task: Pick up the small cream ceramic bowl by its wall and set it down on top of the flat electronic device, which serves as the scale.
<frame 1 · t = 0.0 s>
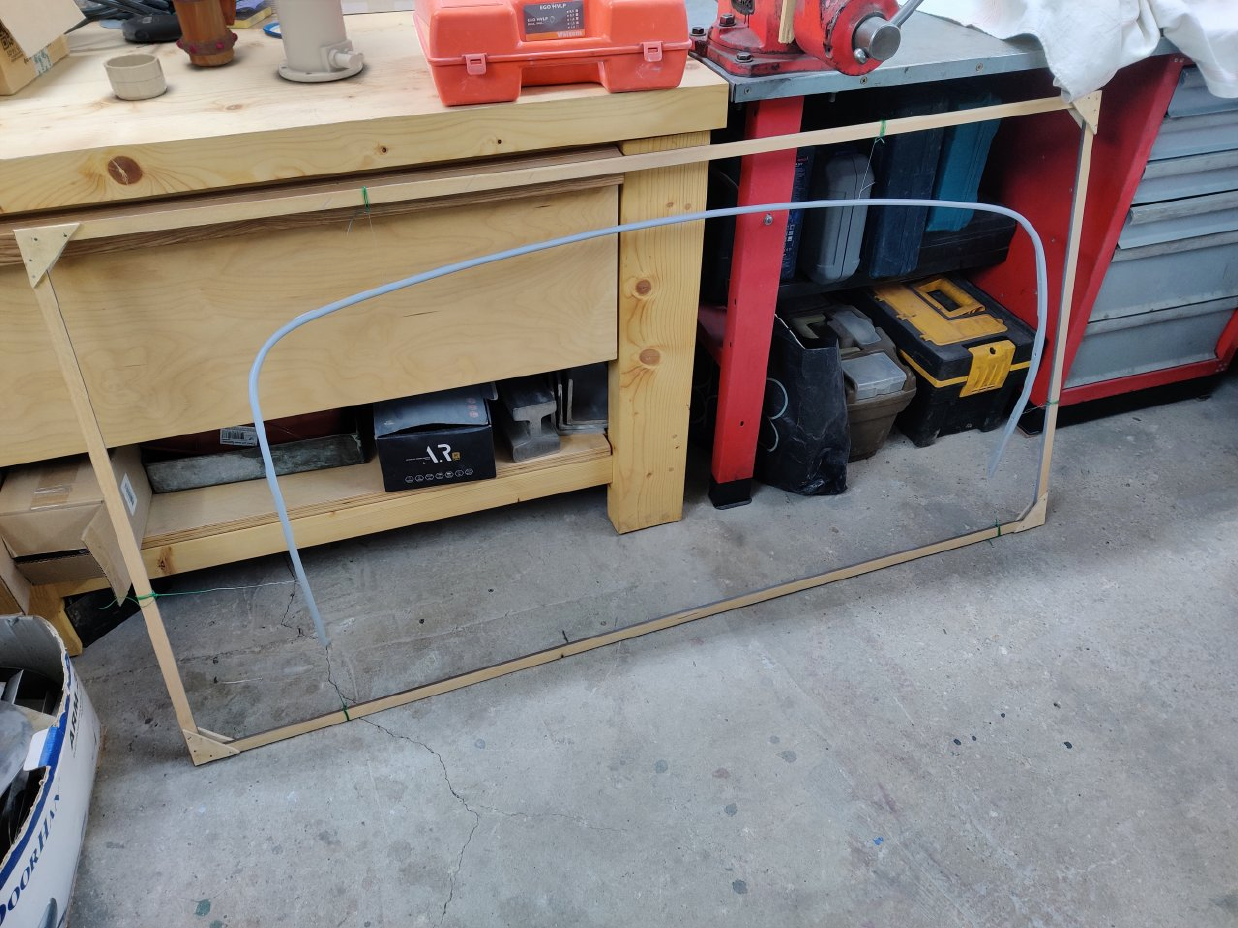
mug: (222, 60, 143), on the table
electronic device: (171, 37, 154), on the table
bowl: (141, 93, 129), on the table
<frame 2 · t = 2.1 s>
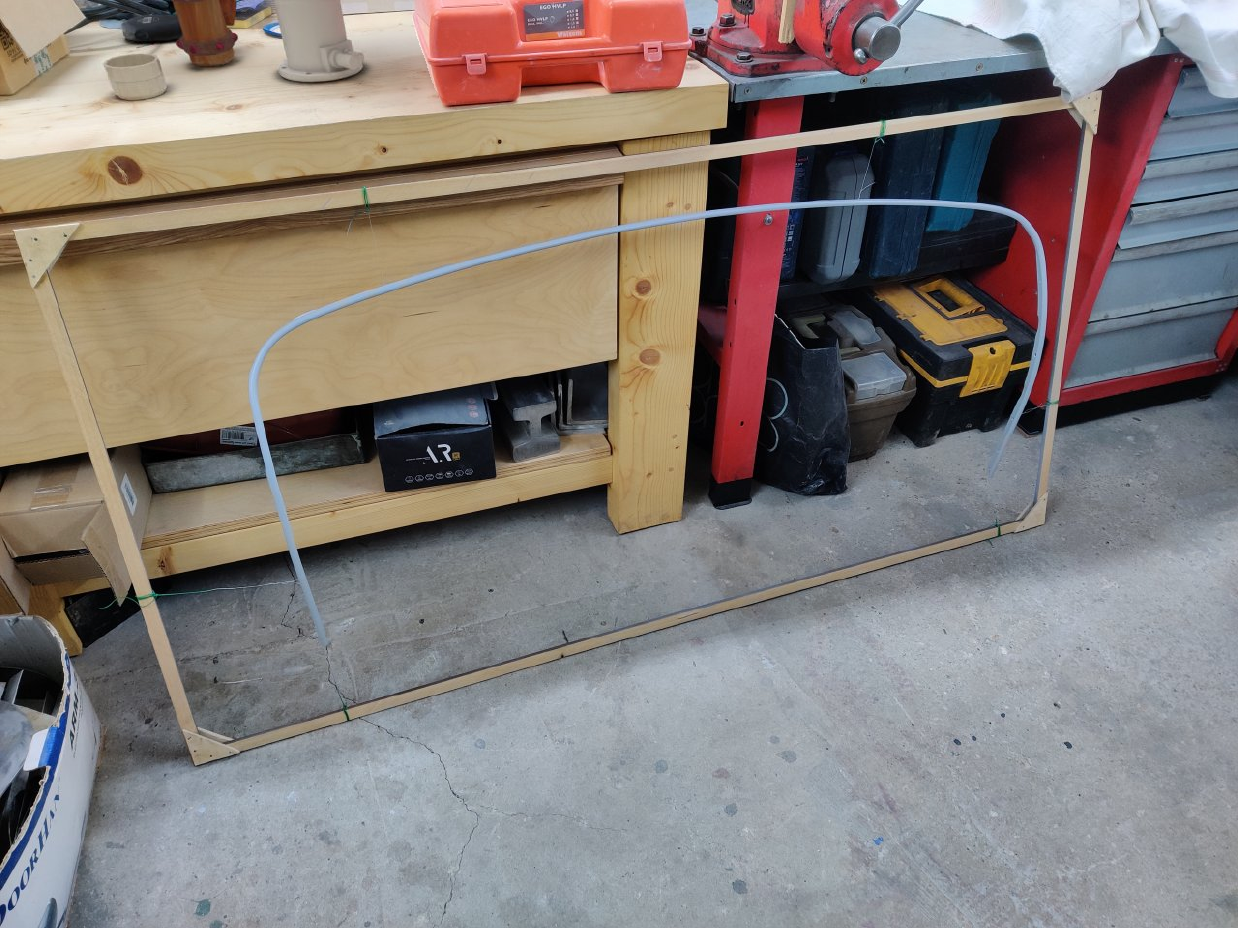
nothing on the table moved.
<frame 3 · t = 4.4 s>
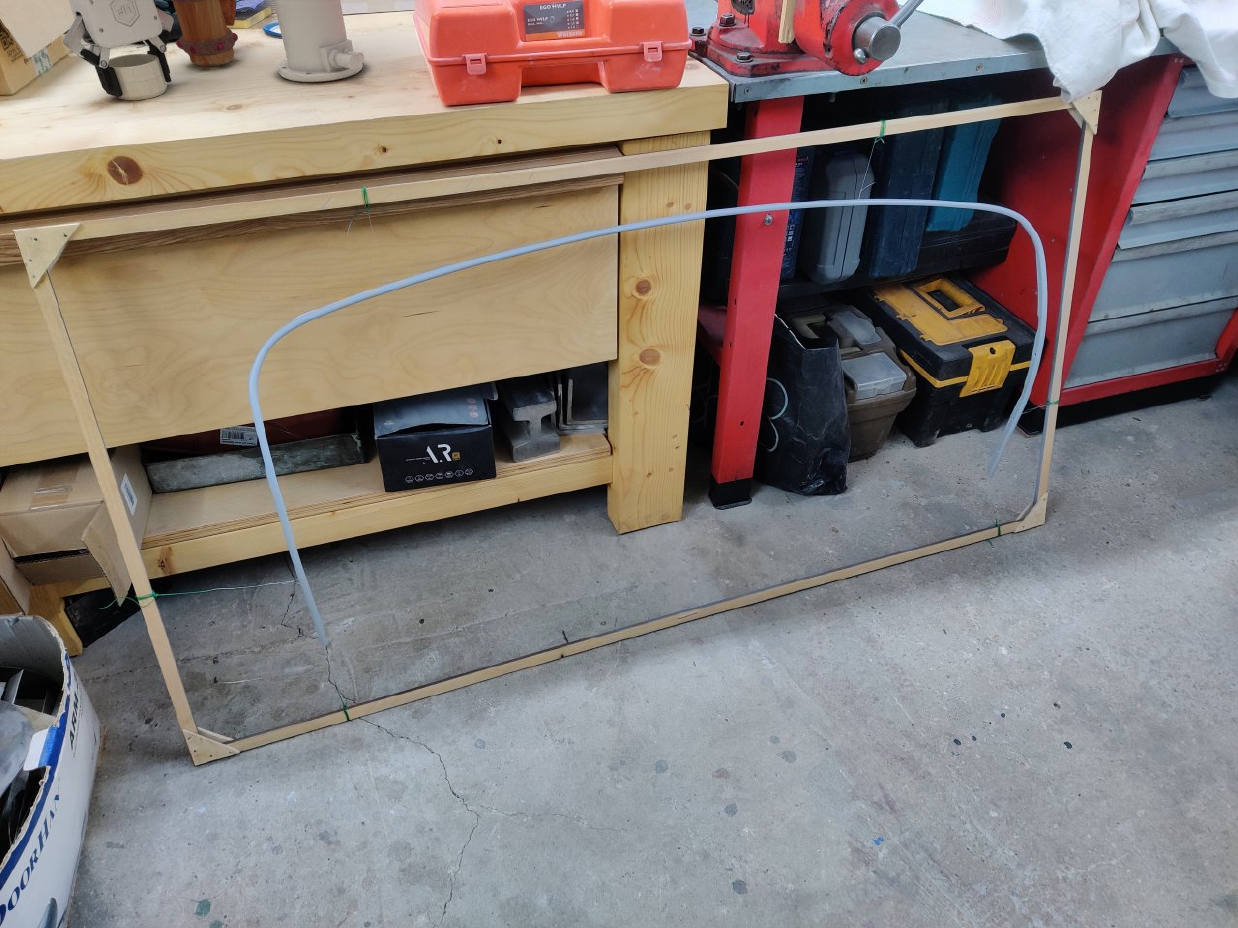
hand: (139, 87, 129), 1 cm above the table, tool pointing down, fingers closed on bowl, 7 cm apart
bowl: (141, 93, 129), on the table, touching gripper
everything else where it was.
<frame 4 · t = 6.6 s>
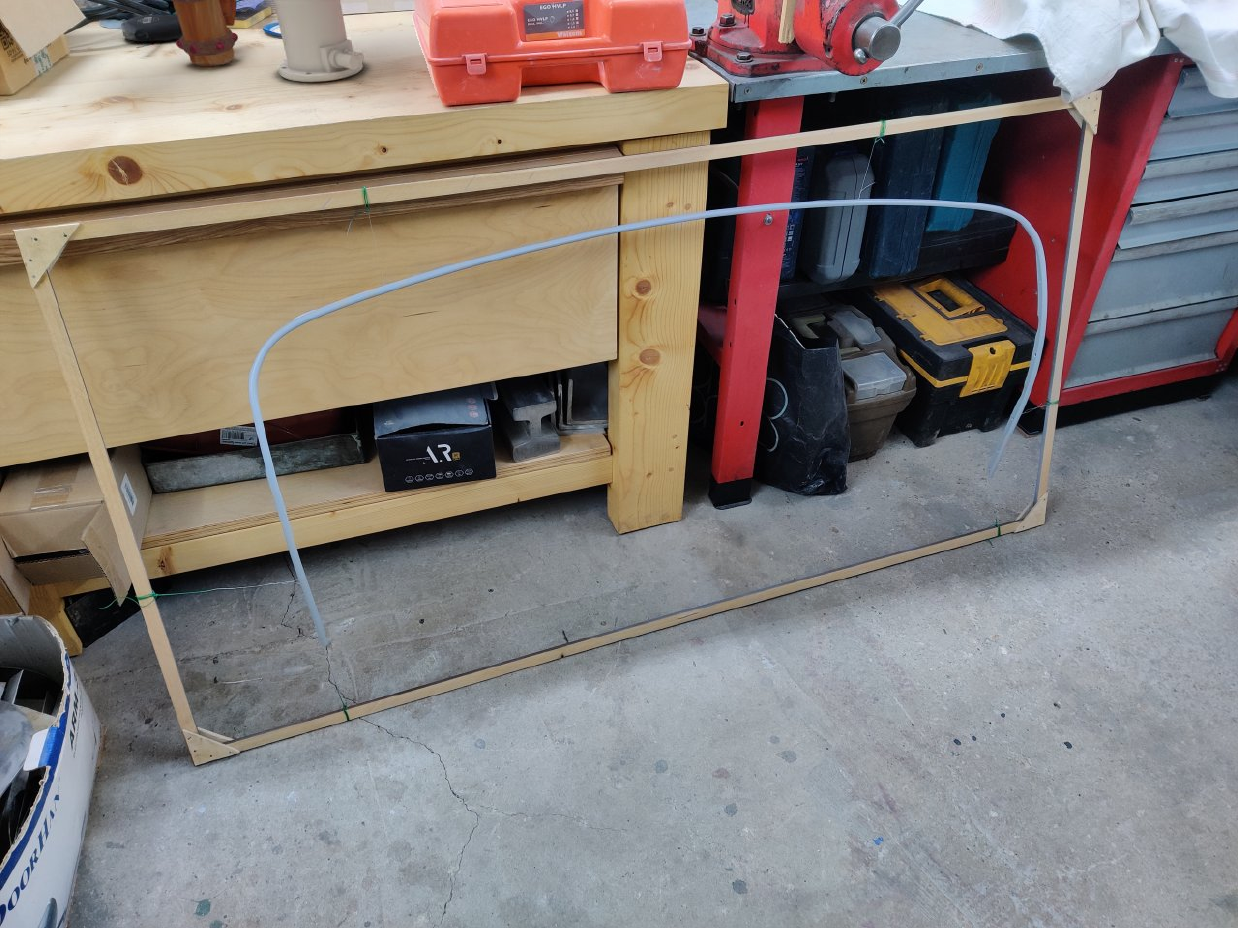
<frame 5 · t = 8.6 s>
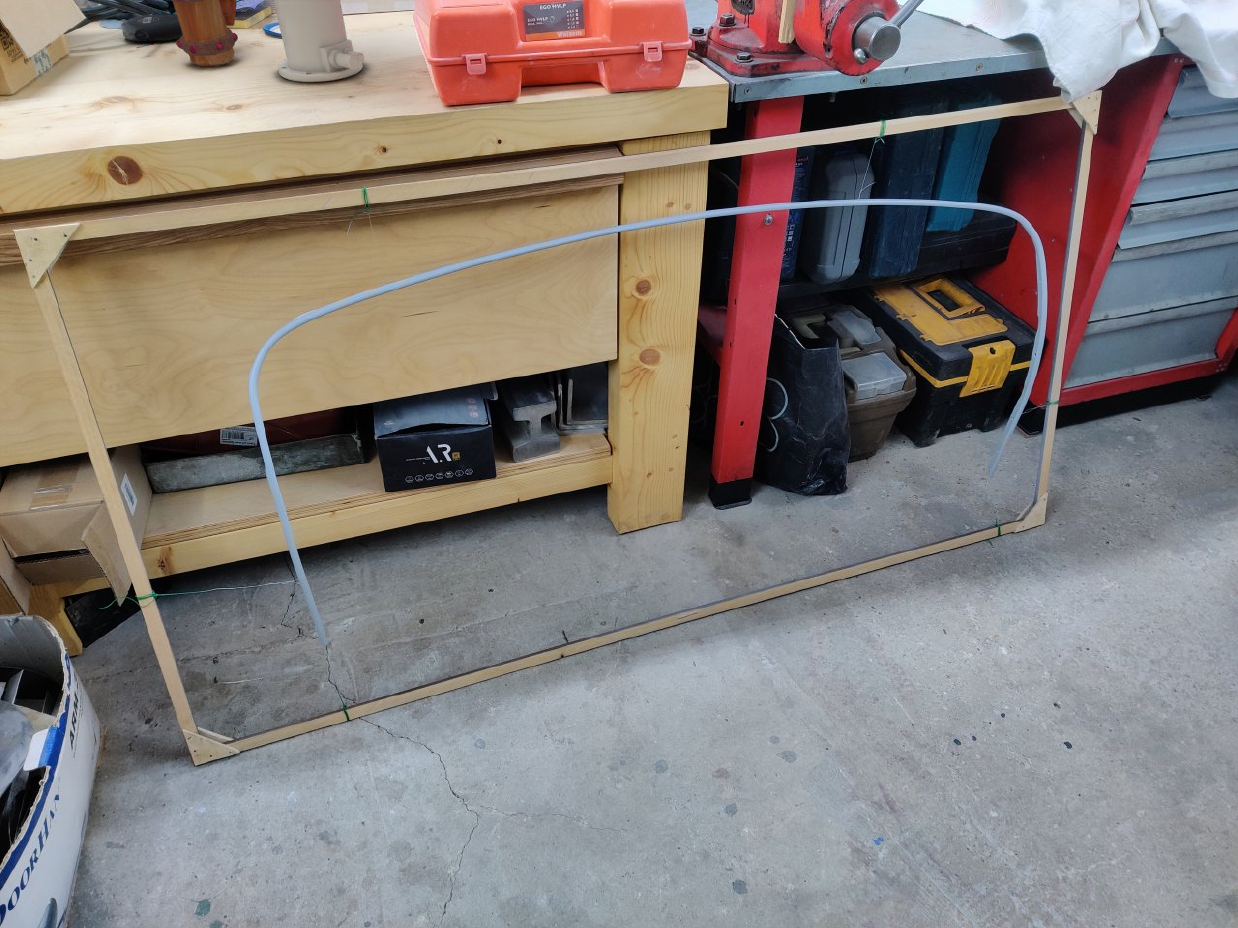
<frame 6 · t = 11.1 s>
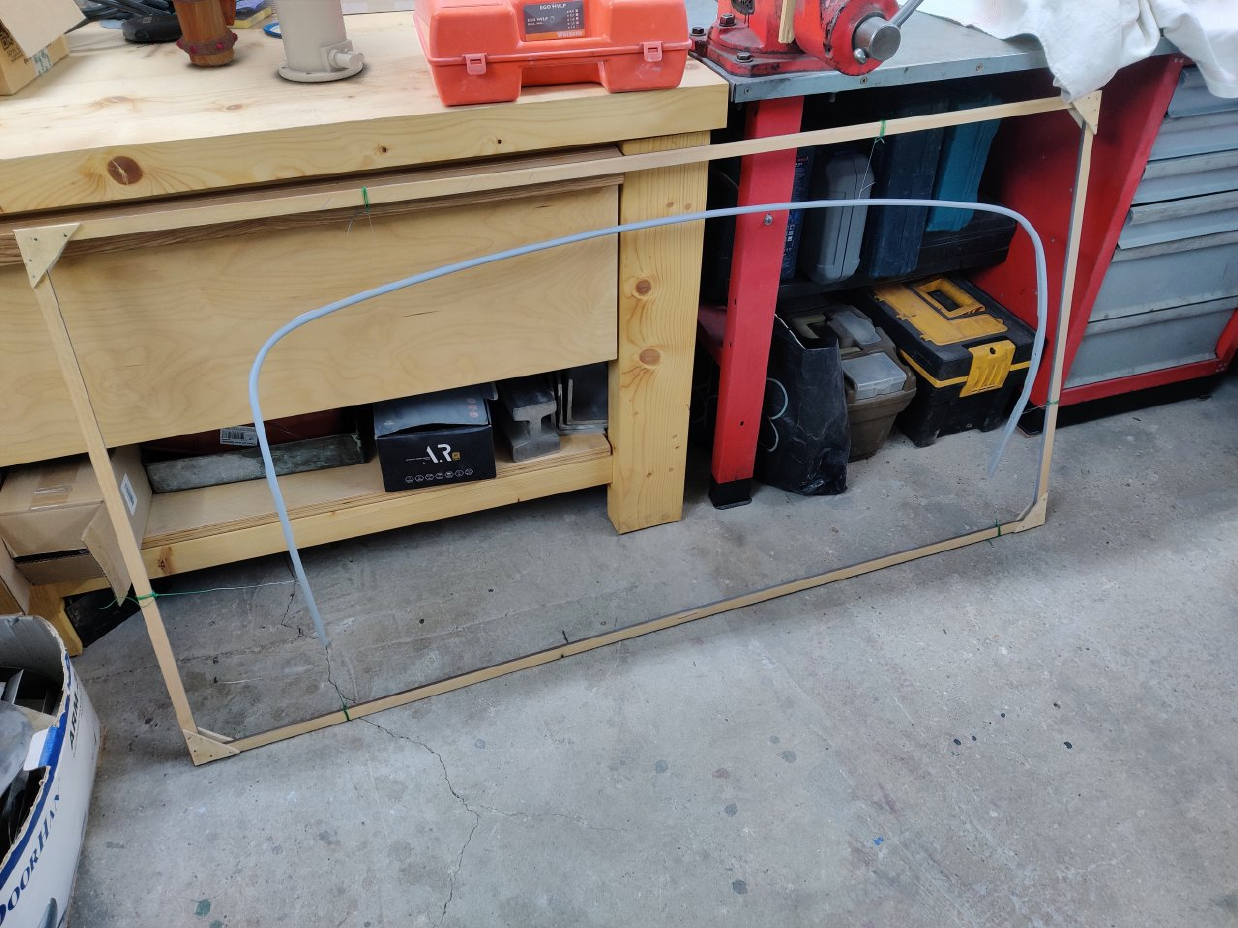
when the fingers open (4 cm above the table, at t = 12.9 s): bowl stays where it is, resting on electronic device.
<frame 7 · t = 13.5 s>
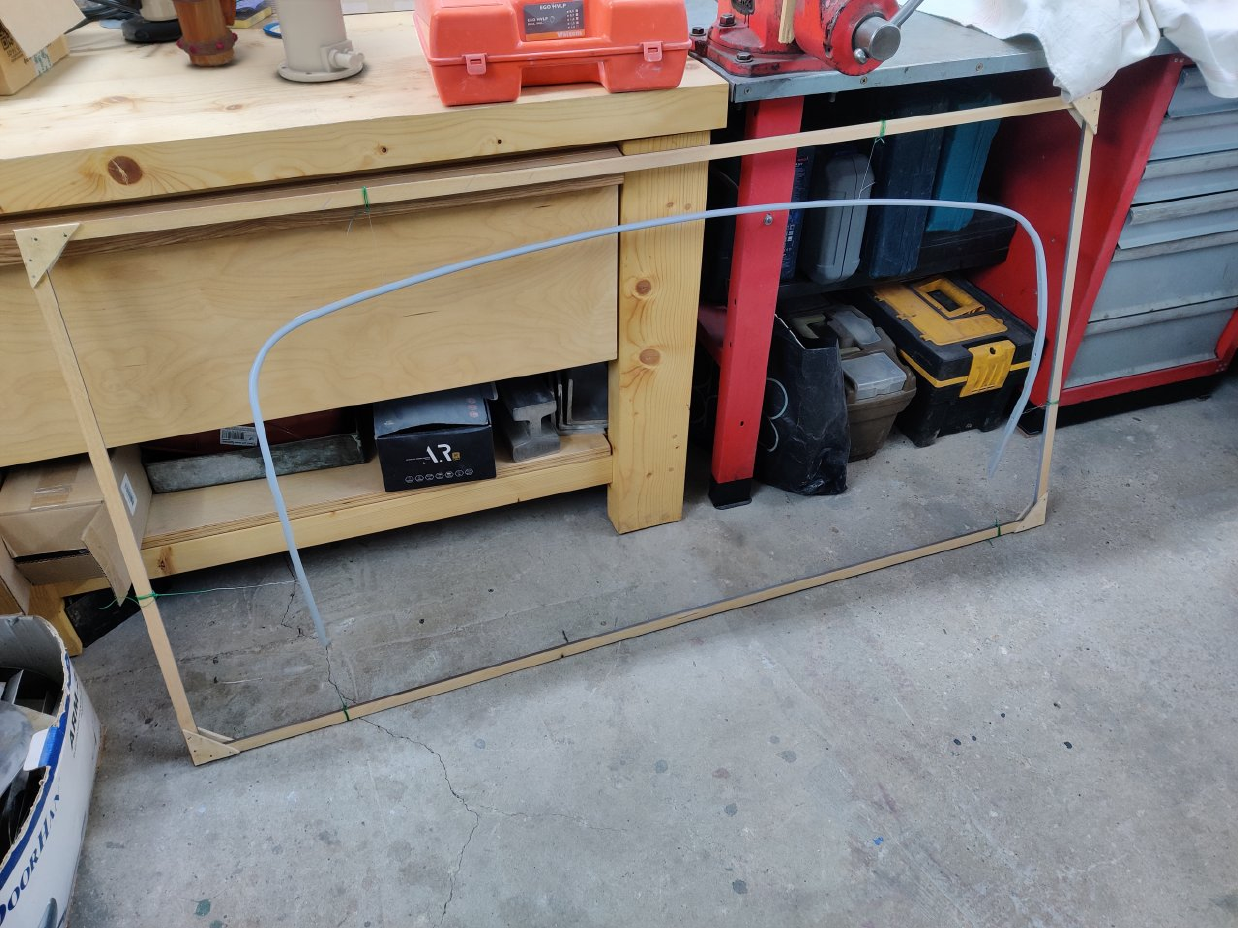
hand: (161, 2, 150), 5 cm above the table, tool pointing down, fingers open, 9 cm apart
electronic device: (171, 37, 154), on the table, touching bowl
bowl: (164, 16, 152), point 3 cm above the table, touching electronic device
everything else where it was.
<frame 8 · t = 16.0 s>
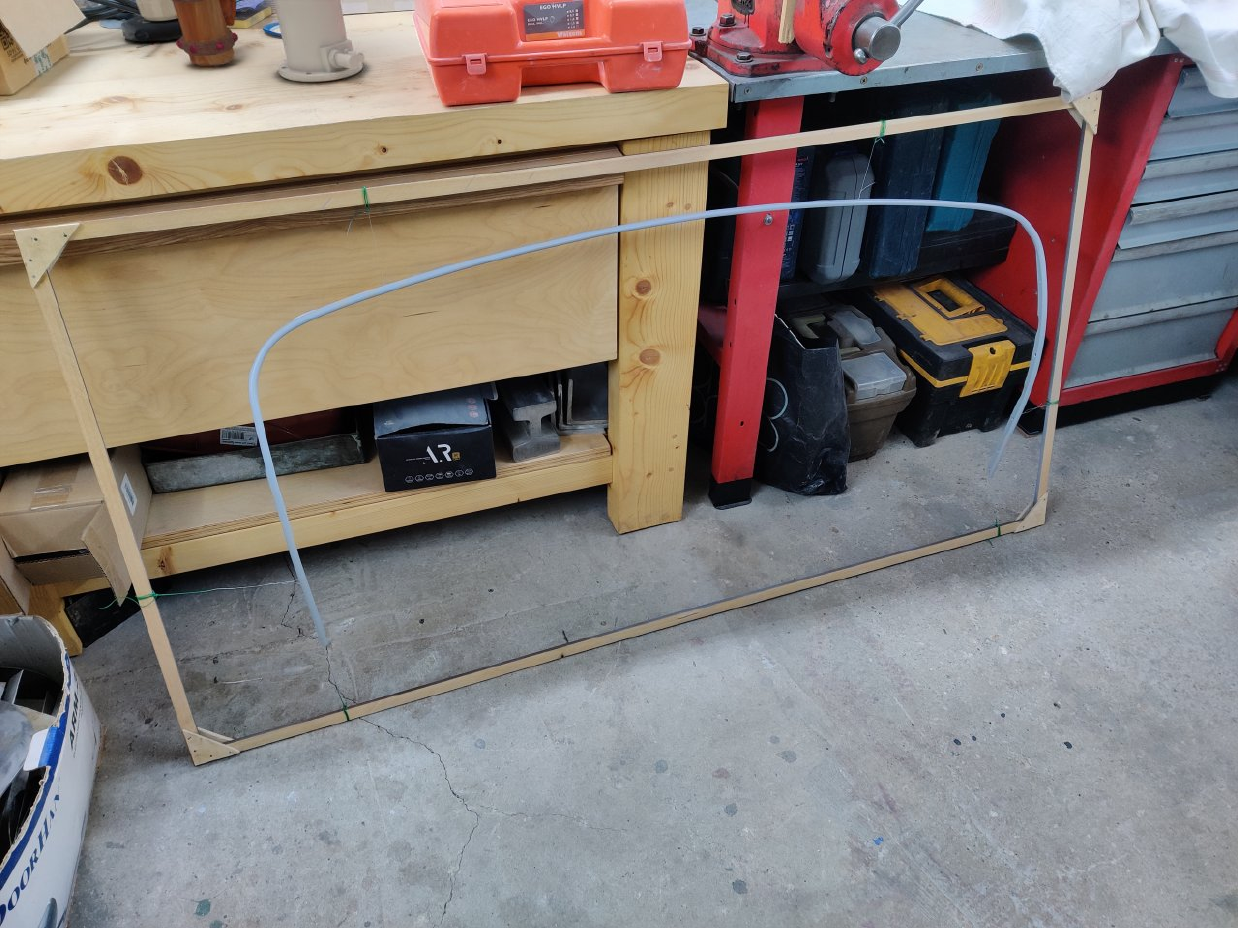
nothing on the table moved.
at the end: bowl inside the target area on the electronic device (0.2 cm from its centre), point 3.4 cm above the electronic device's base; bowl tilted 0° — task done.
